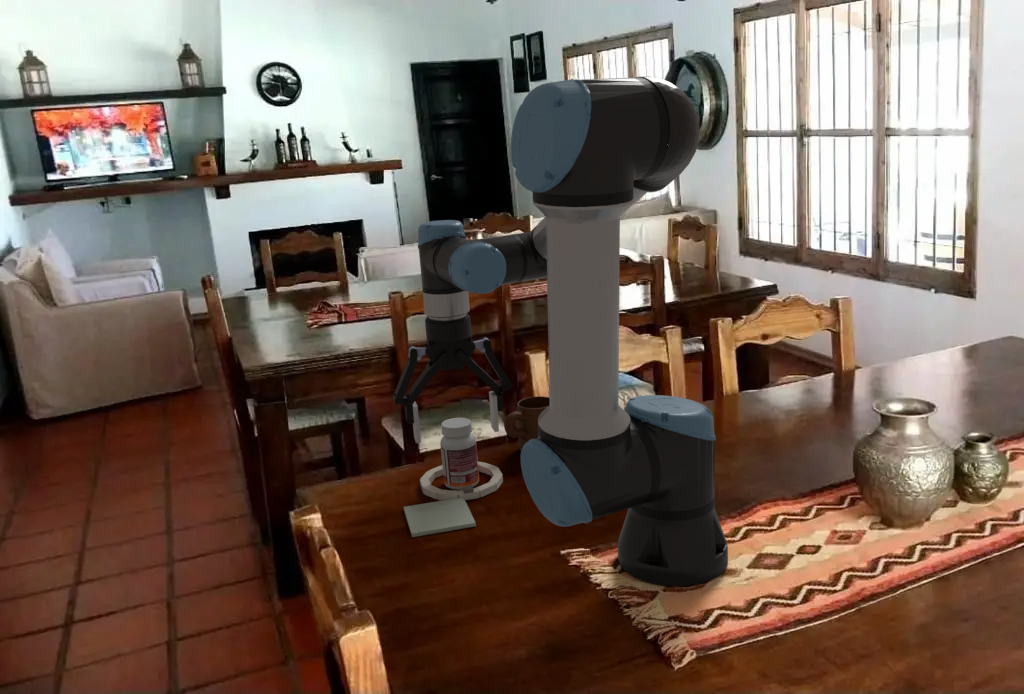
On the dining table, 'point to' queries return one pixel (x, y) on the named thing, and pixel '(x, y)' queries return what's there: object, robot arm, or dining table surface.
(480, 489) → the collar
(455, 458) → the pill bottle
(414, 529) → the coaster
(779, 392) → the dining table surface
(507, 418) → the mug
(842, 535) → the dining table surface
